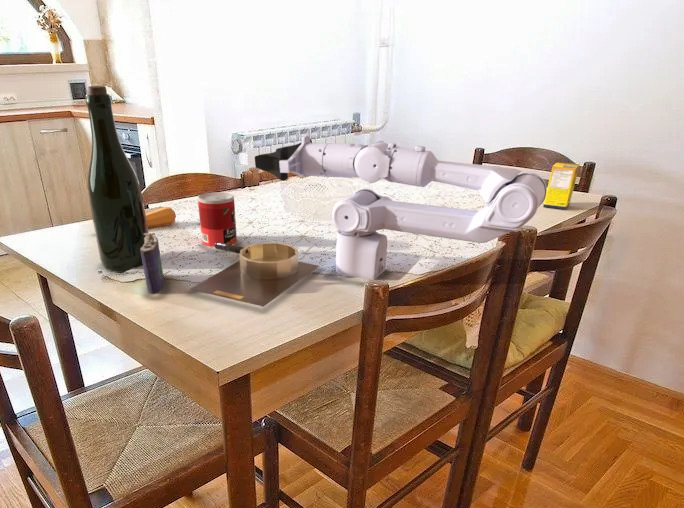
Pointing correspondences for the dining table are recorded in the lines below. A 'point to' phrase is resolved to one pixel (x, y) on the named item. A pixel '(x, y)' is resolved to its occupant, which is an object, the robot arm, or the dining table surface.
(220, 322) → the dining table surface
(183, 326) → the dining table surface
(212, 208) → the canned food
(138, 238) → the green wine bottle
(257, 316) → the dining table surface
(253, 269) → the pan
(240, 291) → the board
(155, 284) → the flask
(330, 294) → the dining table surface
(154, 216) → the carrot
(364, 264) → the robot arm
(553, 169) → the supplement box
